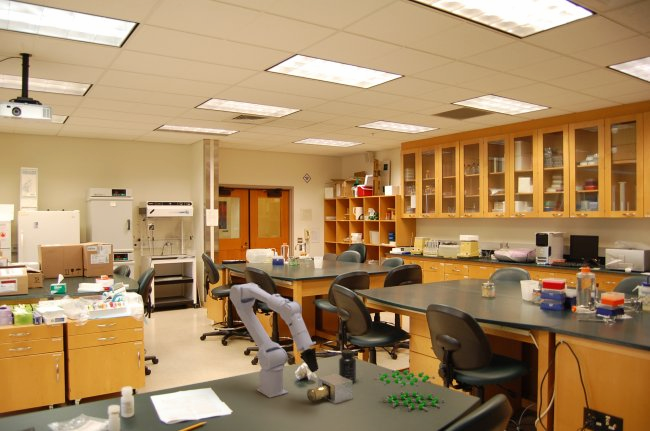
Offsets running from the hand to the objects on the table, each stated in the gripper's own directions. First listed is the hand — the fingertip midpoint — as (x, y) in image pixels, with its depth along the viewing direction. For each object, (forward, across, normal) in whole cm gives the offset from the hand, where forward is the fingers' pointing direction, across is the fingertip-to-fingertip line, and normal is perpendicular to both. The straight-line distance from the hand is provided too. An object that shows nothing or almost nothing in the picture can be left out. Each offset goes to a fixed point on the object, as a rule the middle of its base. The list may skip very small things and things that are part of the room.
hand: (315, 371), depth 171 cm
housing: (+11, +12, -4) cm, 16 cm away
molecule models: (+23, +6, -27) cm, 36 cm away
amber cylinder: (+9, +9, 0) cm, 13 cm away
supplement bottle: (+8, +27, -12) cm, 30 cm away
